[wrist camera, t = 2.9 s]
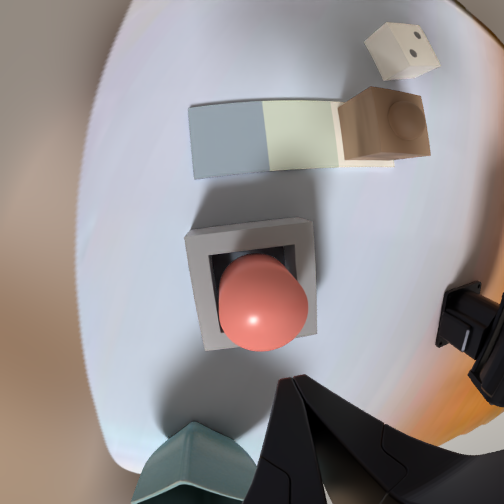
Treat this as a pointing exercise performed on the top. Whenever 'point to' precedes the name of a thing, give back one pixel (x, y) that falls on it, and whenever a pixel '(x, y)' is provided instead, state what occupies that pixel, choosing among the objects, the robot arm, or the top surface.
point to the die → (401, 51)
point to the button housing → (241, 239)
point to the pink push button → (261, 303)
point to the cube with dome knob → (383, 126)
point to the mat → (268, 138)
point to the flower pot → (196, 470)
